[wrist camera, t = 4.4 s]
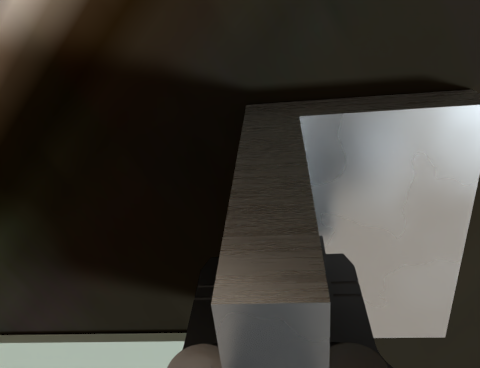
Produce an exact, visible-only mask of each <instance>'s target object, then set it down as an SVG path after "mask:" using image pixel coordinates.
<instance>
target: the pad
mask: <svg viewBox="0 0 480 368" xmlns="http://www.w3.org/2000/svg"><path fill="white" fill-rule="evenodd" d="M185 338H186V333H142V334H58V335H0V368H167V367H168V365H169V363H170V361H171V360H172V359H173V358H174V357H175V356H176V355H177V354H178V353H179V352H180V351H182V349H183V346H184V342H185Z"/></svg>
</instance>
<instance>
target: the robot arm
mask: <svg viewBox="0 0 480 368" xmlns="http://www.w3.org/2000/svg"><path fill="white" fill-rule="evenodd" d="M319 237H320V243H321V249H322V255H323V261H324V267H325V273H326V279H327V285H328V291H329V297H330V357H329V368H393V367H392V366H390V365H389V364H388V363H387V362H386V361H385V360H384V359H383V358H382V356H381V355H380V354H379V352H378V350H377V348H376V345H375V341H374V338H373V334H372V330H371V326H370V323H369V319H368V315H367V311H366V307H365V304H364V300H363V297H362V292H361V289H360V285H359V282H358V277H357V273H356V270H355V266H354V265H353V264H352V263H351V262H350V260H349V259H348V258H347V257H346V256H345V255H344V254H343V253H340V254H326V253H325V247H324V241H323V236H322V235H320V236H319ZM218 262H219V257H213V258H210V259H209V261H208V262H207V263H206V264H205V266H204V267H203V268H202V269H201V272H200V276H199V280H198V288H197V289H196V294H195V300H194V302H193V307H192V311H191V316H190V320H189V325H188V329H187V333H186V338H185V342H184V346H183V349H182V351H180V352H179V353H178V354H177V355H176V356H175V357H174V358H173V359H172V360H171V361H170V363H169V365H168V367H167V368H222V366H221V360H220V354H219V348H218V342H217V337H216V331H215V325H214V319H213V313H212V308H211V302H212V296H213V290H214V285H215V279H216V273H217V268H218Z"/></svg>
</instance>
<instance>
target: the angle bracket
mask: <svg viewBox="0 0 480 368" xmlns="http://www.w3.org/2000/svg"><path fill="white" fill-rule="evenodd" d="M479 175H480V94H479V93H478V92H476V91H475V90H473V89H472V90H457V91H443V92H428V93H413V94H399V95H384V96H369V97H355V98H340V99H325V100H311V101H296V102H281V103H267V104H252V105H246V109H245V115H244V120H243V126H242V132H241V137H240V143H239V149H238V154H237V160H236V166H235V171H234V177H233V183H232V188H231V194H230V200H229V205H228V211H227V217H226V222H225V228H224V234H223V239H222V245H221V251H220V256H219V262H218V268H217V273H216V279H215V285H214V290H213V296H212V302H211V308H212V313H213V319H214V325H215V331H216V337H217V342H218V348H219V354H220V360H221V366H222V368H329V357H330V297H329V291H328V285H327V279H326V273H325V267H324V261H323V255H322V249H321V243H320V237H319V236H320V235H322V236H323V241H324V247H325V253H326V254H340V253H343V254H344V255H345V256H346V257H347V258H348V259H349V260H350V262H351V263H352V264H353V265H354V266H355V270H356V273H357V277H358V282H359V285H360V289H361V292H362V297H363V300H364V304H365V307H366V311H367V315H368V319H369V323H370V326H371V330H372V334H373V338H419V337H445V335H446V330H447V326H448V321H449V316H450V311H451V307H452V302H453V297H454V292H455V288H456V283H457V278H458V274H459V269H460V264H461V259H462V255H463V250H464V245H465V241H466V236H467V231H468V226H469V222H470V217H471V212H472V208H473V203H474V198H475V193H476V189H477V184H478V179H479Z"/></svg>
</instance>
